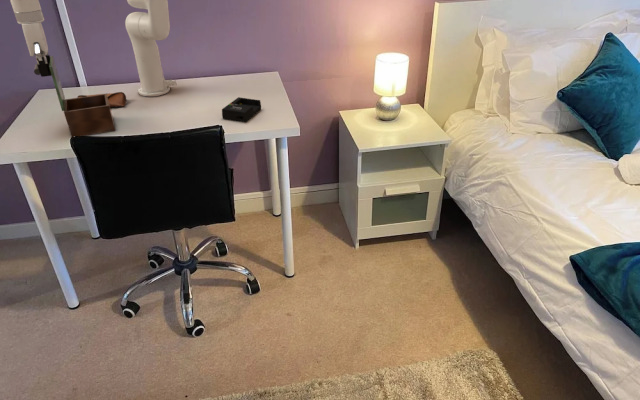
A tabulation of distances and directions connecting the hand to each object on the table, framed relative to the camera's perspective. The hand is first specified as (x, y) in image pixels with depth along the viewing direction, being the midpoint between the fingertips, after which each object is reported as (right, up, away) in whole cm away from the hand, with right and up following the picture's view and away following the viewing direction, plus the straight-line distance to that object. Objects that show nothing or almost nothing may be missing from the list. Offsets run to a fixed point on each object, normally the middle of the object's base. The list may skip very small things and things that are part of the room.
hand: (47, 71), depth 158 cm
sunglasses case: (+4, -5, +31) cm, 32 cm away
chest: (+8, -16, +15) cm, 23 cm away
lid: (+2, -3, +3) cm, 5 cm away
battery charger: (+60, -10, +24) cm, 65 cm away
